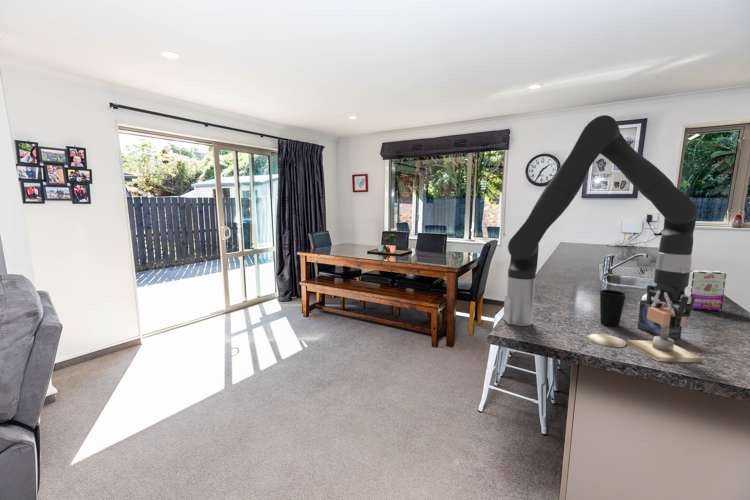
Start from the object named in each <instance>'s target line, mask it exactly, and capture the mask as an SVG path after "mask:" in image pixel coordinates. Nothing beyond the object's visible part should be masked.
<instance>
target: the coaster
mask: <svg viewBox="0 0 750 500" xmlns="http://www.w3.org/2000/svg"><path fill="white" fill-rule="evenodd" d="M588 339H589V340H590V341H591V342H592V343H595V344H597V345H599V346H600V345H601V346H605V347H610V348H624V347H626V346H627V342H626V341H625V340H624V339H622V338H619V337H617V336H615V335H610V334H605V333H592V334H589V335H588Z"/></svg>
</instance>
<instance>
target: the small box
mask: <svg viewBox="0 0 750 500" xmlns="http://www.w3.org/2000/svg"><path fill="white" fill-rule="evenodd" d="M651 301H653V300H651ZM648 307H651V305H648V304H647V300H642V299H641V300H640V302H639V310H638V311H639V312H638V318H637V319H638V321H637V328H638V329H639V330H642V331H644V332H647V333H648V334H651V335H653V336H660V333H661V325H660V324H658V323H656V322H653V321H651V320H649V319H647V311H648ZM662 308H668V306H667V304H664V306H663V307H662ZM675 310H676V312H678V311H677V309H675ZM682 328H683V326H680V328H679V329H678V330H675V329H670V328H669V335H668V338H670V339H673V340H677V339H678V340H679V339H682V331H683V330H682Z"/></svg>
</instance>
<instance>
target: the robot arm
mask: <svg viewBox="0 0 750 500" xmlns="http://www.w3.org/2000/svg"><path fill="white" fill-rule="evenodd" d="M599 155H602V156H603V157H605V158H606V159H607V160H608V161H610V162H611V163H612V164H613V165H614V166H615V167H616V168H617V169H618V170H619V171H620V173H622V174H623V175H624V177H625V178H626V179H627V180H628V181H629V183H630V184H632V185H633V187H634V188H636V190H637V191H638V192H640V194H641V195H642V196H643V197H644V198H646V199H647V200H649V202H651V204H652V205H653V206H654V207H655V209H656V210H657V211H658V212H659V213H660V214H661V215H662V217H664V218H663V219H664V220H663V230H662V231H663V232H662V234H661V237H660V239H659V240H660V241H659V247H658V254H657V257H656V261H655V268H654V269H655V270H654V276H653V282H654V284H655V285H653V284H650V285H649V284H648V285H647V286H646V294H647V304H648V305H651V307H656V308H662V307H663V306H664V304H667V306H668V308H669V309H670V311H671V315H672V316H671V319H670V326H669V328H670V329H675V330H678V329H679V328H680V323H681V318H682V317H686V318H689V317H691V316H690V315H691V313H692V310H693V309H692V306H693V303H694V300H695V298H694V297H690V296H687V295H685V287H687V286H688V283H689V277H690V270H692V253H693V246H694V231H695V228H696V222H697V218H698V213H699V207H698V206H697V203H696V202H694V200H692V199H691V198H690V197H688V196H687V195H686V194H685V193H684V192H683V191H682V190H680V189H679V188H678V187H676V185H675V184H674V183H673V181H672V180H671V179H670V178H669V177H668V176H666V174H665V173H664V172H663V171H661V169H659V168H658V167H657V166H656V165H655V164H653V163H652V162H650V160H648V159H647V158H645V157H644V156H643V155H641V154H639V152H637V151H636V150H635V149H634V148H633V147H632V146H631V145H630V144H629V143H628V142H627V140H626V138H625V137H624V136H623V134H622V133H621V131H620V127H619V124H618V122H617V121H616V119H615V118H614V117H612V116H610V115H608V114H607V115H606V114H605V115H599V116H598V115H597V116H596V117H594V118H592V119H590V120H589V121H588V122H587V123H586V124H585V125H584V127H583V129H582V131H581V133H580V135H579V136H578V139H577V140H576V142H575V144H574V145H573V148H572V149H571V151H570V153H569V155H568V156H567V157H566V159H565V160H564V161H563V163H561V165H560V166H559V167H558V169H557V171H556V172H555V174H554V175H553V177H552V178H551V180H549V181H548V184H547V185H546V187H545V188H544V189H543V191H542V193H541V194H540V196H539V198H538V199H537V201H536V203H535V204H534V206H533V208H532V210H531V212H530V214H529V215H528V217H527V218H526V220H525V222H523V224H522V225H521V226H520V227H519V228H518V230H517V231H516V233H515V234H514V235H513V236H512V237H511V238H510V239H509V241H508V246H507V250H508V253H509V255H510V260H509V261H510V262H509V266H508V270H507V286H506V294H505V295H504V303H503V304H504V305H503V317H502V318H503V321H505V322H506V323H507V324H508V325H513V326H518V327H529V326H532V324H533V317H534V316H533V314H534V300H535V299H534V298H535V288H536V286H535V285H536V276H537V275H536V273H537V268H538V259H539V244H540V243H541V241H542V238H543V237H544V235H545V233H546V232H547V230H548V229H549V228H550V227H551V226H552V225H553V224H554V223H555V222H556V221H557V220H558V219H559V218H560V216H562V214H563V213H564V212H565V211H566V209H568V207H569V206H570V204H571V203H572V202H573V201H574V199H575V198H576V196H577V195H578V193H579V191H580V189H581V188H582V186H583V183H584V181H585V179H586V177H587V175H588V172H589V170H590V169H591V166H592V165H593V163H594V161H595V160H596V159H597V158H598V157H599ZM651 297H653V301H651ZM675 309H677V311H678V312H676V310H675Z"/></svg>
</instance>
